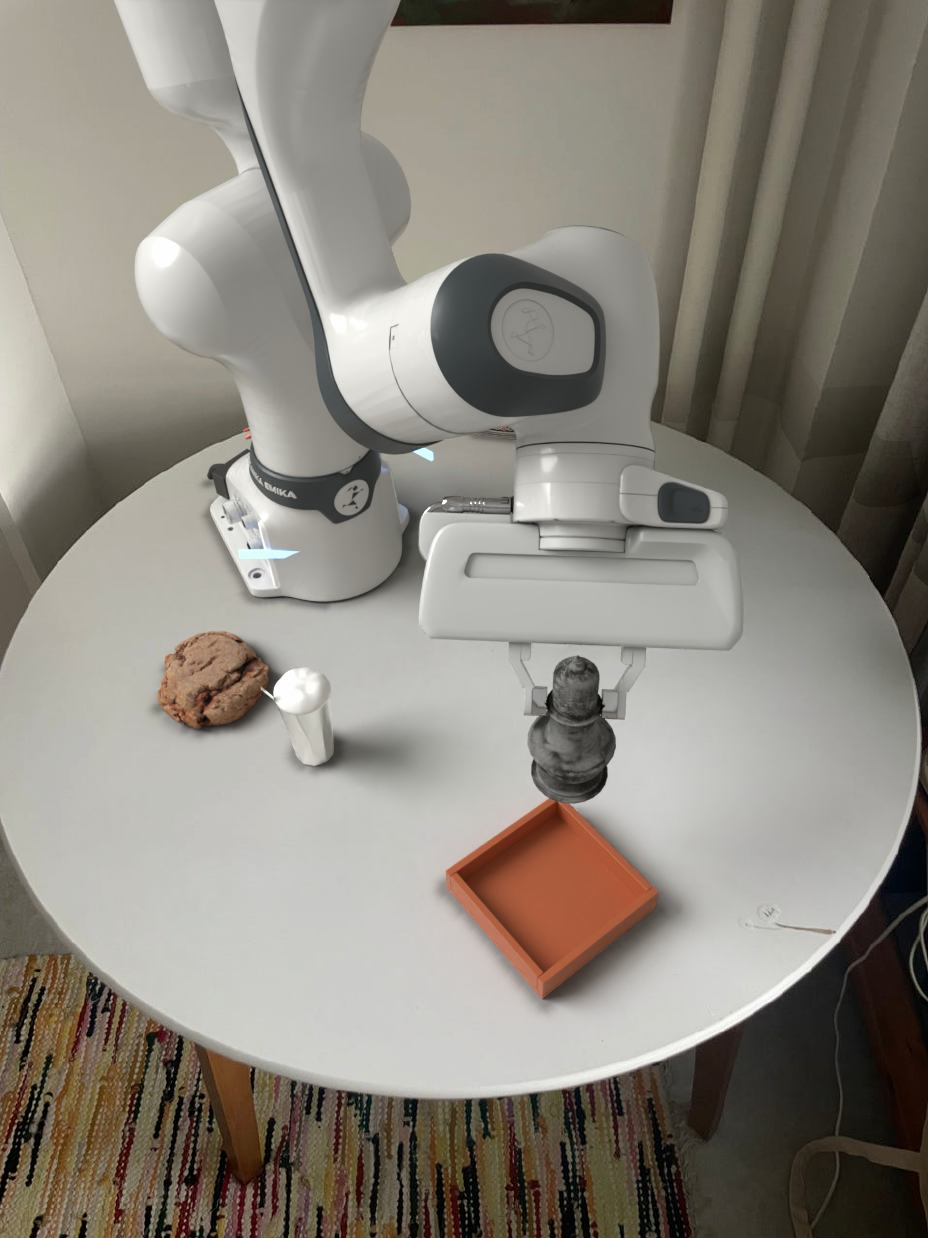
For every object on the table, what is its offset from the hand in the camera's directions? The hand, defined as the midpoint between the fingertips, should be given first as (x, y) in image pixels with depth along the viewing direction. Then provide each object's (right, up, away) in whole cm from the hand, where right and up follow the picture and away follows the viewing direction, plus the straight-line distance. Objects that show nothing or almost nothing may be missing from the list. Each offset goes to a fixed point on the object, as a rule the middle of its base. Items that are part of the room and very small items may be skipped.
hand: (574, 716), depth 65 cm
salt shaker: (0, -4, +6) cm, 7 cm away
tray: (0, -15, +12) cm, 19 cm away
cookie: (-30, 0, +28) cm, 41 cm away
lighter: (-2, +28, +53) cm, 60 cm away
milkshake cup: (-20, -5, +23) cm, 31 cm away
